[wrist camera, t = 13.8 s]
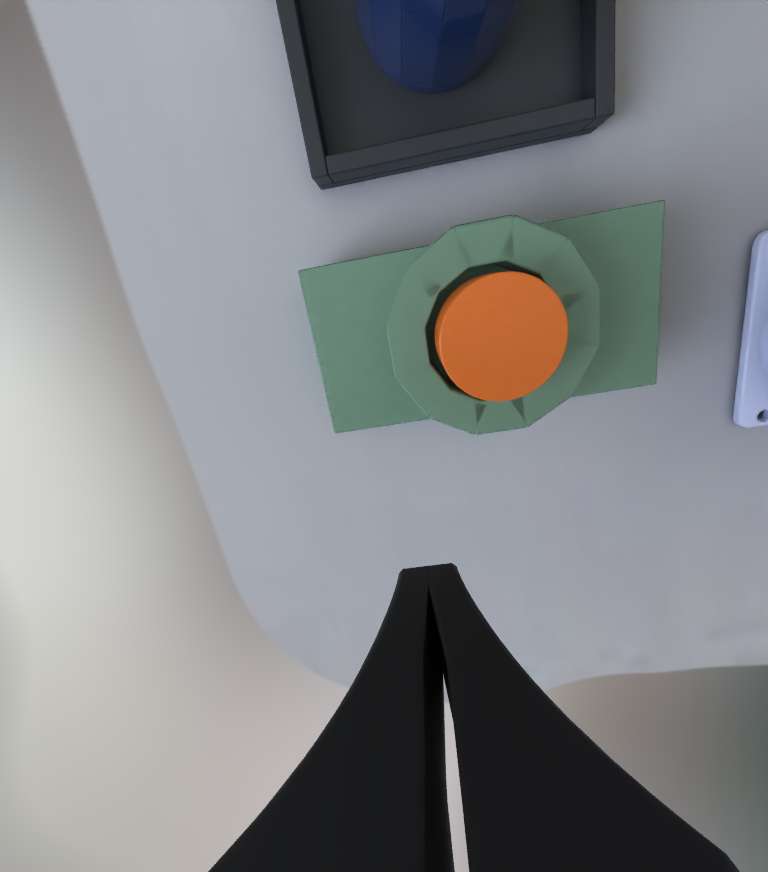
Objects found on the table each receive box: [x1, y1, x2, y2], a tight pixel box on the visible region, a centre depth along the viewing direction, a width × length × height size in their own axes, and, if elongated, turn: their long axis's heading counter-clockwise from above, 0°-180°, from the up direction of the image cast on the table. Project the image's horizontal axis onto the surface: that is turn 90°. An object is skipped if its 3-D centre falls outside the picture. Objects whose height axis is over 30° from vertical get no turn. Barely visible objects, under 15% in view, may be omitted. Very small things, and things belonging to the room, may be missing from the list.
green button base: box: [298, 200, 665, 435], centre depth 15 cm, size 12×6×5 cm, turn 100°
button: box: [434, 271, 568, 401], centre depth 12 cm, size 4×4×2 cm
